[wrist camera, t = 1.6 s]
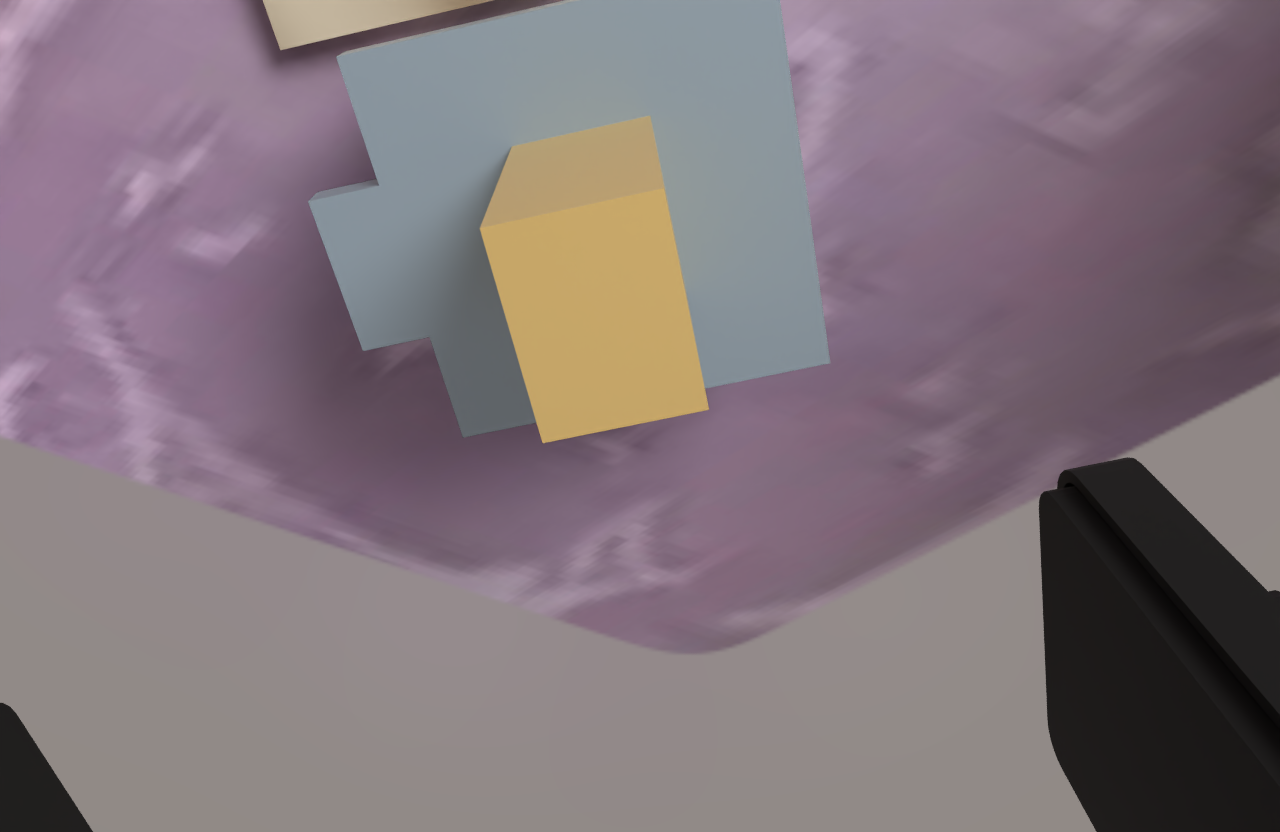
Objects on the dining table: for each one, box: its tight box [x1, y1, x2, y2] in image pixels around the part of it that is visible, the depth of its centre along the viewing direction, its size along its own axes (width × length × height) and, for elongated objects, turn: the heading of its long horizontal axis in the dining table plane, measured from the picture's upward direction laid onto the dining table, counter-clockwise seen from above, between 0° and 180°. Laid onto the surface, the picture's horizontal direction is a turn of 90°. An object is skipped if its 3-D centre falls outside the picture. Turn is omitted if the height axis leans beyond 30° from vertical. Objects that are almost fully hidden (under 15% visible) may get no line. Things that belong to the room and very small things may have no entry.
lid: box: [308, 0, 830, 443], centre depth 20 cm, size 11×9×7 cm
